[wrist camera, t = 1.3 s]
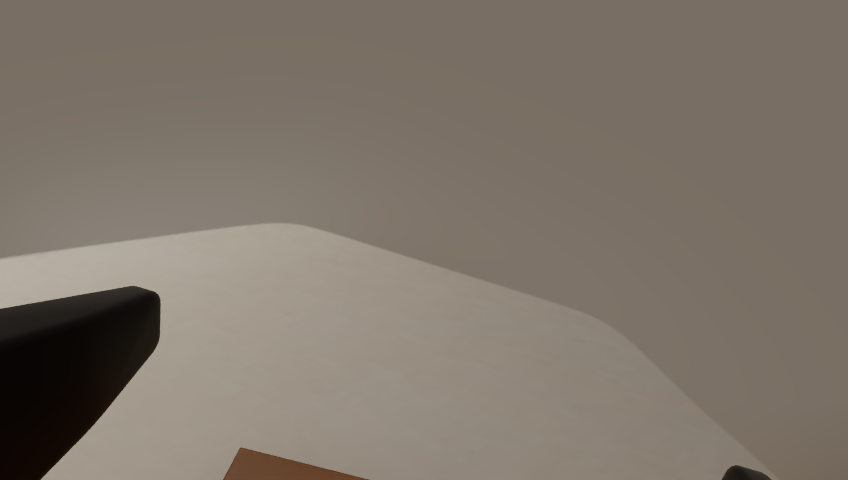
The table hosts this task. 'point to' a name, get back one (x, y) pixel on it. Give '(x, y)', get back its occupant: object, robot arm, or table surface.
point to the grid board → (277, 469)
